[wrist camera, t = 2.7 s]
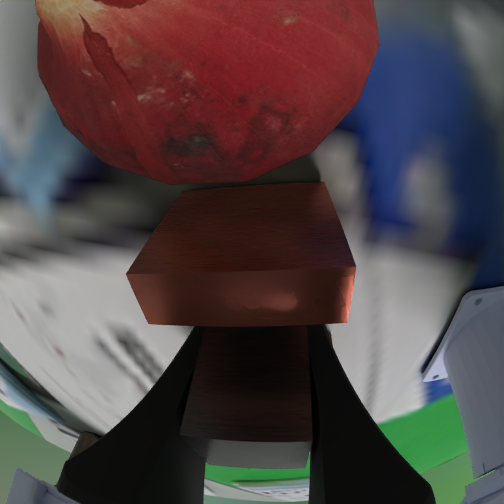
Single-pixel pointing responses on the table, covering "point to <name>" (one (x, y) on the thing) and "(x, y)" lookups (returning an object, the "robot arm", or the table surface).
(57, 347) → the table surface
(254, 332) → the rod
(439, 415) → the table surface
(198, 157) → the onion
